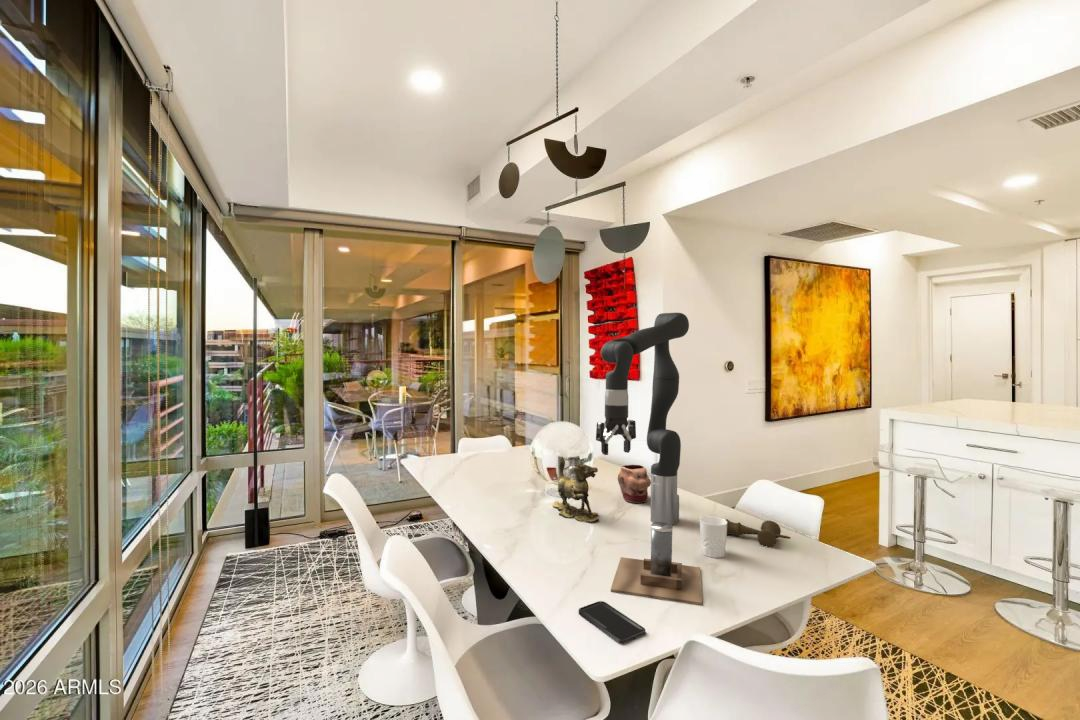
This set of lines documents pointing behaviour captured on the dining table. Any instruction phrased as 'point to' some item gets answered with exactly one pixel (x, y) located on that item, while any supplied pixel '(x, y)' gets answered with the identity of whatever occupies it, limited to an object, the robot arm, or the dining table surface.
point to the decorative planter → (634, 483)
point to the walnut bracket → (658, 581)
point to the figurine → (576, 493)
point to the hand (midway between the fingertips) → (616, 453)
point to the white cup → (713, 536)
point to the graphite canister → (661, 549)
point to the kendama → (758, 532)
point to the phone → (612, 622)
